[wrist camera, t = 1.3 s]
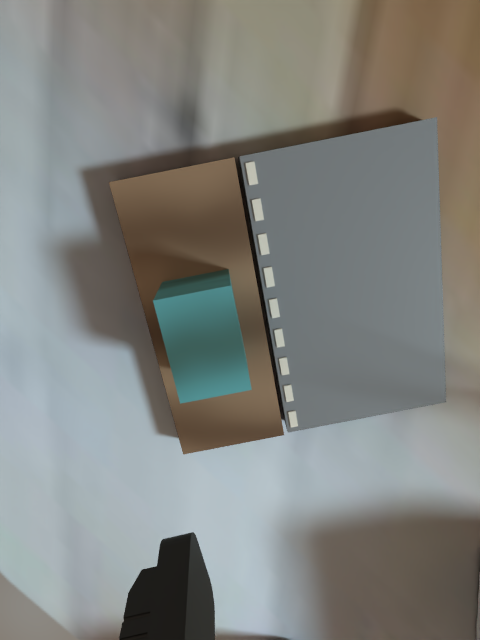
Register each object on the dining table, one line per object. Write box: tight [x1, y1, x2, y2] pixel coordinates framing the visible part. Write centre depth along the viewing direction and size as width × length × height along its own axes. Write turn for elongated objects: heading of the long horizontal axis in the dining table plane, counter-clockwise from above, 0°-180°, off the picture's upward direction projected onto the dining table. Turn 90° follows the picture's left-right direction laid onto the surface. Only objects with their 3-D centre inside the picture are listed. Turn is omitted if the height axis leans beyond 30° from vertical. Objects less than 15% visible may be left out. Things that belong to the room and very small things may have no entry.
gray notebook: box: [238, 117, 446, 432], centre depth 27 cm, size 18×11×2 cm, turn 11°
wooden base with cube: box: [109, 158, 284, 454], centre depth 25 cm, size 18×7×6 cm, turn 11°
